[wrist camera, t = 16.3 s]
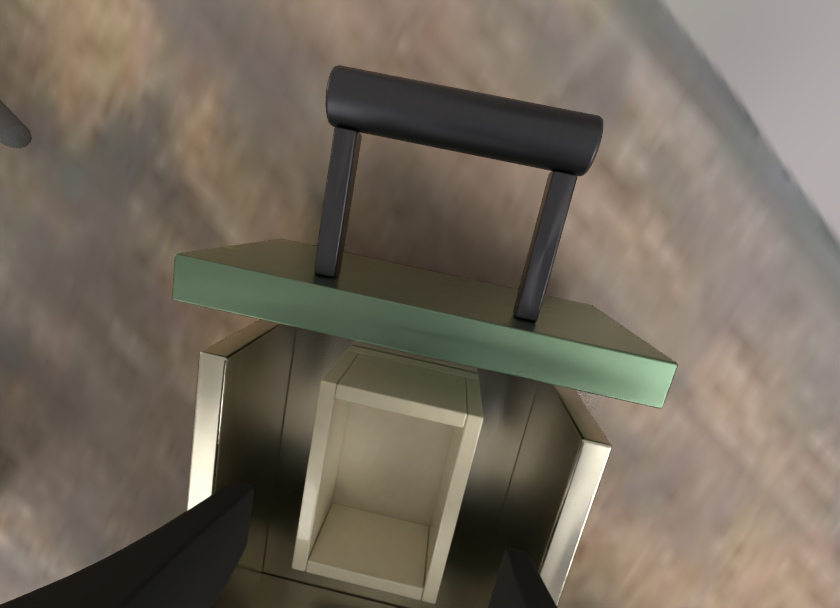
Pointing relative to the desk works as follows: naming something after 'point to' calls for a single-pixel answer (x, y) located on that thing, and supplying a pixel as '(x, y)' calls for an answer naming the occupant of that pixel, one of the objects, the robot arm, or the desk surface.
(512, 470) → the drawer
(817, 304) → the desk surface
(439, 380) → the open wooden box
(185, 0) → the desk surface
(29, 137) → the walkie-talkie
